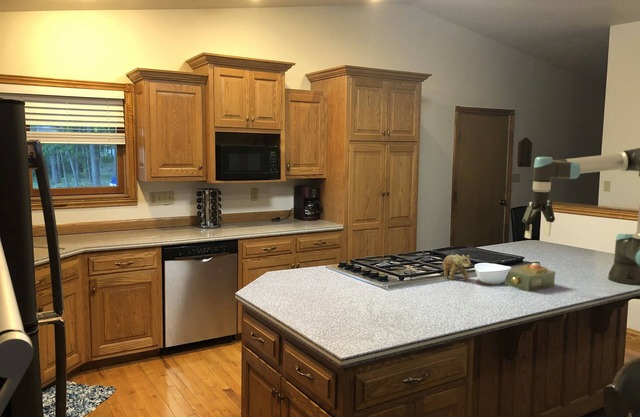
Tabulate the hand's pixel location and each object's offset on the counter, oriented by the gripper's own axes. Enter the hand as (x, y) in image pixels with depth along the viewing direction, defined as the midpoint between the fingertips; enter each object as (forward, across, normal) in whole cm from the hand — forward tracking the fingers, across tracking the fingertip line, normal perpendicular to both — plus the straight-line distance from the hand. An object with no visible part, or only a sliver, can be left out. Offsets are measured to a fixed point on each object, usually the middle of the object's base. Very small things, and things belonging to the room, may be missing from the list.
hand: (537, 236), depth 245 cm
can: (+22, 0, 0) cm, 22 cm away
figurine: (+23, +26, -24) cm, 42 cm away
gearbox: (+23, +4, 0) cm, 23 cm away
